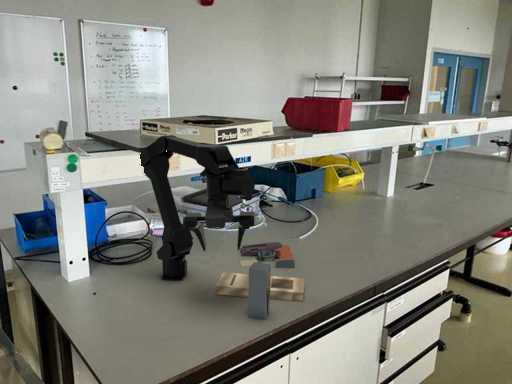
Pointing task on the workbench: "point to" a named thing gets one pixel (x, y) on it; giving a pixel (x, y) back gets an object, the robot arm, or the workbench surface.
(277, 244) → the toy gun
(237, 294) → the slotted wooden board
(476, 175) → the workbench surface
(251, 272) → the tall gray pillar
